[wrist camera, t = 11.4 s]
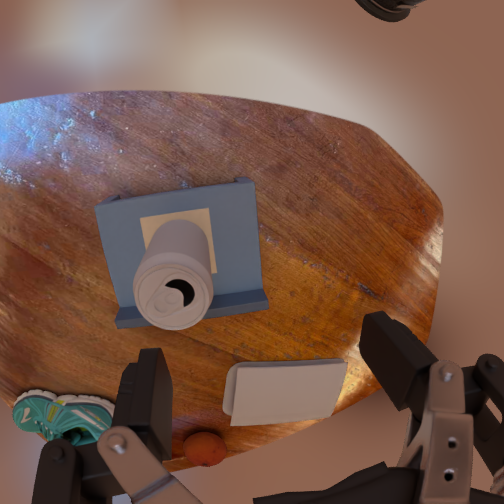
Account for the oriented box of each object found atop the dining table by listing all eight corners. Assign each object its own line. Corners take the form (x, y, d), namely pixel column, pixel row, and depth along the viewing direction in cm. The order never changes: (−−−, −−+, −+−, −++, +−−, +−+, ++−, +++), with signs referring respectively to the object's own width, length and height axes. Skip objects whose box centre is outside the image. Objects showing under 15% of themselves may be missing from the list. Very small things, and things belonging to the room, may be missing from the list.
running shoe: (8, 385, 41) (-10, 421, 31) (107, 381, 44) (95, 430, 34) (34, 418, 45) (21, 453, 35) (132, 418, 48) (127, 463, 38)
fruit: (174, 435, 52) (175, 465, 44) (204, 420, 51) (207, 452, 44) (202, 450, 55) (205, 477, 48) (232, 436, 54) (237, 465, 47)
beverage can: (219, 251, 33) (232, 306, 22) (175, 282, 33) (167, 347, 22) (185, 205, 30) (178, 241, 19) (140, 240, 31) (112, 291, 20)
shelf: (108, 196, 34) (84, 212, 26) (246, 176, 37) (260, 185, 28) (130, 293, 39) (117, 329, 31) (254, 276, 42) (268, 309, 33)
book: (326, 408, 56) (332, 420, 53) (221, 415, 51) (223, 430, 48) (349, 356, 51) (358, 369, 48) (229, 361, 46) (232, 377, 43)
